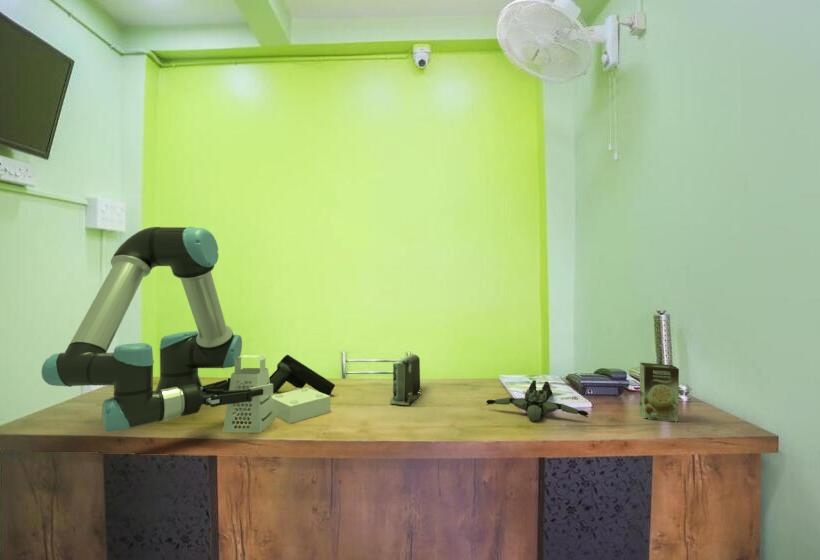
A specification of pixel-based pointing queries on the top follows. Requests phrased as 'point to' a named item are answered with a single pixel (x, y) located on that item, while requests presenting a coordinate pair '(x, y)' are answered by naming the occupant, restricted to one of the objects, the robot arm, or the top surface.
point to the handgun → (298, 376)
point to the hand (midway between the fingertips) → (263, 384)
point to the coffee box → (659, 391)
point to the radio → (406, 380)
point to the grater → (258, 405)
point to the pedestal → (300, 404)
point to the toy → (537, 402)
